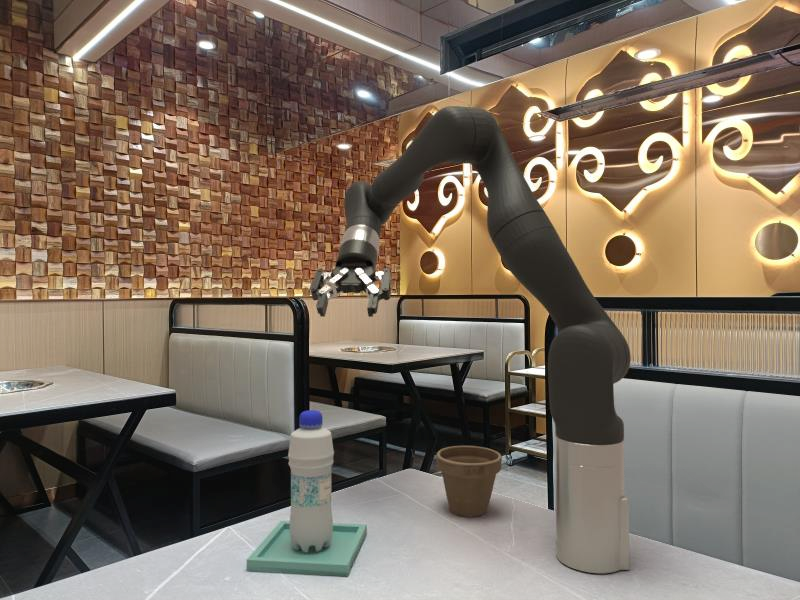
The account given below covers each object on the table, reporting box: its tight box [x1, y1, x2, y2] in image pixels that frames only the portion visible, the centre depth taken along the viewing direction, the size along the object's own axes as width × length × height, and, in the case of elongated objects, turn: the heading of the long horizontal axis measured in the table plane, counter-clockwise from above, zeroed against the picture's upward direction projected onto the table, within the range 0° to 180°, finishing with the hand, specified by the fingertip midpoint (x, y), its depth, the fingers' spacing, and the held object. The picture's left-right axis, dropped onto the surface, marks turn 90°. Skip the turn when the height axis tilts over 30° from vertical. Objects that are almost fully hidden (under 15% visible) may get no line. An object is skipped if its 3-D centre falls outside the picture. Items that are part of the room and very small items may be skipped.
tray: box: [246, 520, 368, 577], centre depth 83 cm, size 14×14×2 cm
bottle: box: [287, 409, 335, 553], centre depth 83 cm, size 7×7×20 cm
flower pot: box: [436, 445, 503, 518], centre depth 99 cm, size 12×11×10 cm
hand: (345, 313), depth 98 cm, fingers open, 8 cm apart
